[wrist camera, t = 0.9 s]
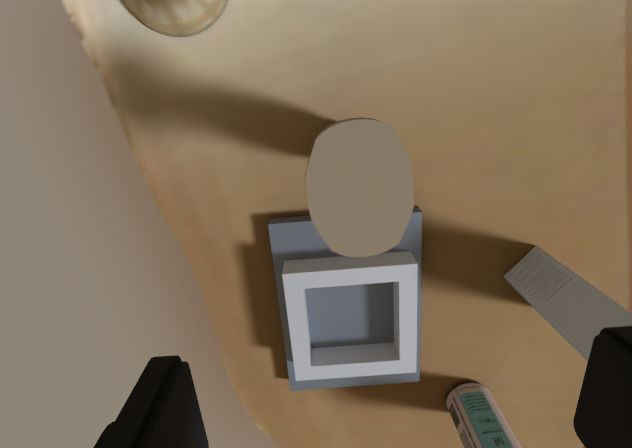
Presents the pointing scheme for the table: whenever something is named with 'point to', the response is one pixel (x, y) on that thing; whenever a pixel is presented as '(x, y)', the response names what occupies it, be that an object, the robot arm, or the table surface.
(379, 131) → the handle
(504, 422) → the beer can
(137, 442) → the robot arm
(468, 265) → the table surface
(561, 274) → the skincare box
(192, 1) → the hand bell
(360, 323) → the socket board
